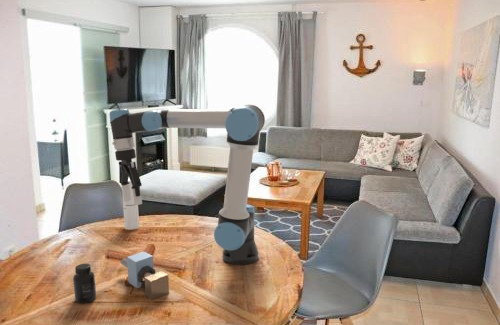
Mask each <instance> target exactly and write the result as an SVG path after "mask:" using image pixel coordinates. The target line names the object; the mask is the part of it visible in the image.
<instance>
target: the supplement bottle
mask: <svg viewBox="0 0 500 325" xmlns="http://www.w3.org/2000/svg"><path fill="white" fill-rule="evenodd" d="M74 268H75V270H74V272H75V274H74V275H73V277H72V281H73V291H74V293H73V294H74V300H75V302H76V303H78V304H87V303H90V302H93V301H95V299H96V297H97V289H96V280H95V276H96V275H95V273H94V272H93V271H92V269H91V264H89V263H80V264H77V265H76V266H75V267H74Z"/></svg>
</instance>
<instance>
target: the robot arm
mask: <svg viewBox="0 0 500 325" xmlns="http://www.w3.org/2000/svg"><path fill="white" fill-rule="evenodd" d="M265 119H266V118H265V115H264V112H263V111H262V109H261V108H260V107H259V106H257V105H255V104H245V105H240V106H231V107H230V108H229V109H227V108H225V109H223V108H221V109H219V108H218V109H216V108H214V109H213V108H212V109H211V108H205V109H204V108H203V109H202V108H201V109H199V108H198V109H197V108H196V109H195V108H194V109H193V108H192V109H191V108H190V109H189V108H188V109H185V108H183V109H181V108H180V109H179V108H178V109H174V108H173V109H172V108H171V109H166V108H157V109H153V110H147V111H139V112H134V113H133V112H130V110H129V108H123V109H114V110H111V111H109V124H110V128H111V129H110V130H111V133H112V139H113V142H112V145H113V148H114V150H115V152H114V154H115V160H116V161H118V170H119V171H118V173H119V174H118V175H119V177H118V178H119V180H118V181H119V184H120V185H121V188H122V190H123V194H122V198H123V197H124V201H130V200H131V195H130V189H129V184H130V183H129V181H128V178H130V181H131V183H132V187H131V189H132V190H133V197H134V203H135V205H138V206H139V205H142V204H143V198H142V193H141V187H142V181H141V178H140V176H139V171H138V168H137V165H136V161H133V159H136V157H137V156H136V155H137V154H136V149H135V140H134V135H133V134H135V133H143V132H144V133H145V132H153V131H158V130H160V129H172V128H174V129H177V128H178V129H225V130H226V133H227V134H226V143H227V144H228V145H229V155H228V164H227V174H226V183H225V191H224V192H225V193H224V200H223V201H224V202H223V207H222V208H221V209H220V210H219V212H218V220H217V225H216V227H215V228H214V232H213V238H214V240H215V243H216V244H217V245H218V247H220V248H221V249H223V251H222V260H223V261H224V262H226V263H229V264H231V265H237V266H238V265H249V264H252V263H254V262H255V263H256V261H257V260H258V259H259V251H258V247H257V244H256V240H255V213H256V212H255V207H254V206H253V205H251V204H248V198H249V189H250V180H251V173H252V172H251V171H252V164H253V156H254V149H255V148H256V147H258V146H259V141H260V140H259V139H260V133H261V130H263V128H264V126H265V122H266V120H265ZM127 184H128V185H127ZM122 190H121V191H122Z"/></svg>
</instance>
